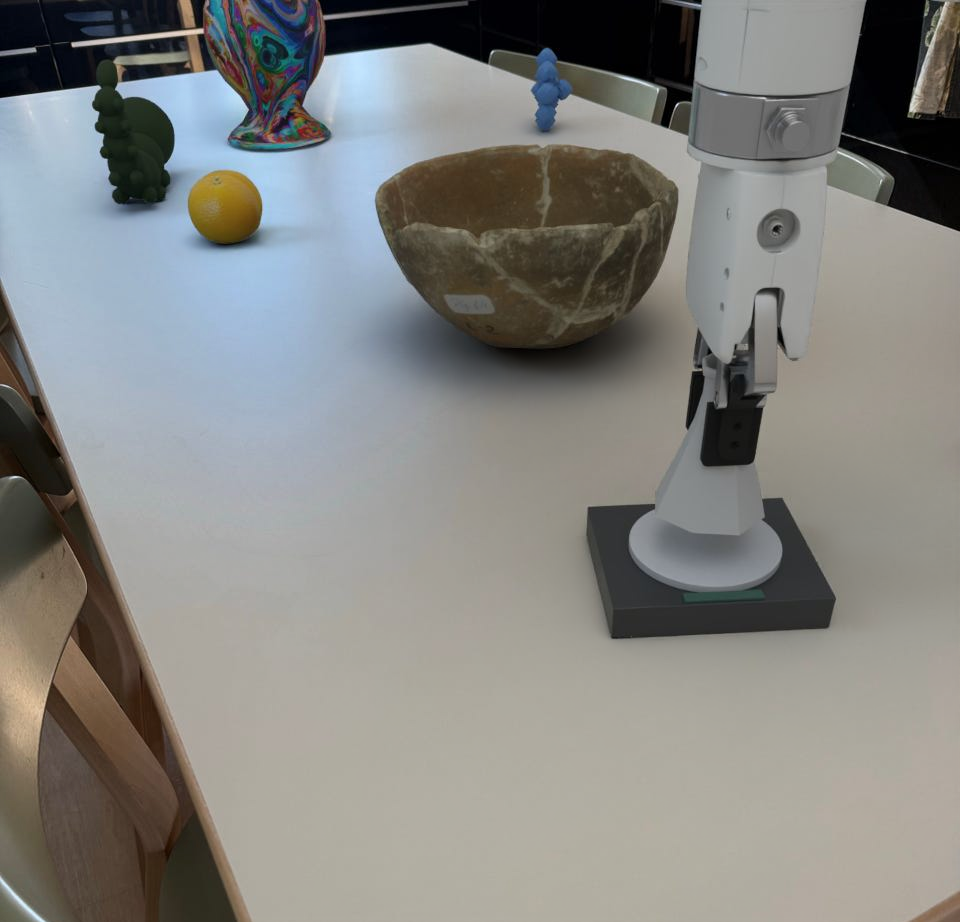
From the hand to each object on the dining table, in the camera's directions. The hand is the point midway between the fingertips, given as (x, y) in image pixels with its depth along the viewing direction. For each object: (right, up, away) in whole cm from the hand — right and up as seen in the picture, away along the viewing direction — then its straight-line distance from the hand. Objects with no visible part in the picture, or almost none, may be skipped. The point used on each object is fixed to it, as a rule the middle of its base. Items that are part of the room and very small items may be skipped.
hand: (718, 444), depth 63 cm
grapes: (-3, +71, +103) cm, 124 cm away
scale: (0, -8, +6) cm, 10 cm away
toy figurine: (-62, +50, +80) cm, 113 cm away
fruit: (-46, +37, +63) cm, 87 cm away
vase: (-47, +69, +102) cm, 132 cm away
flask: (0, -4, +3) cm, 5 cm away
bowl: (-10, +17, +38) cm, 43 cm away
